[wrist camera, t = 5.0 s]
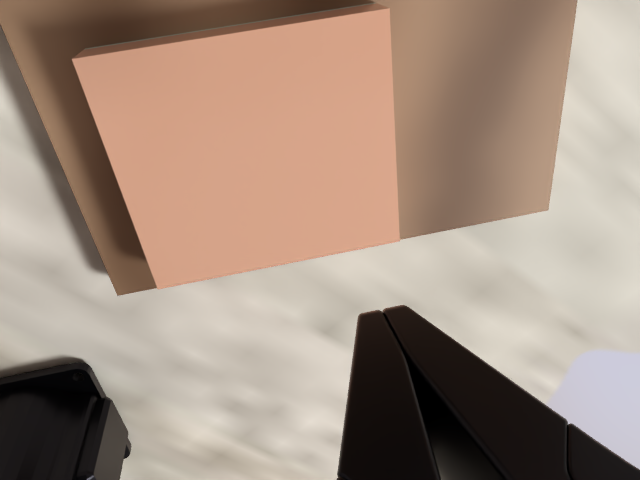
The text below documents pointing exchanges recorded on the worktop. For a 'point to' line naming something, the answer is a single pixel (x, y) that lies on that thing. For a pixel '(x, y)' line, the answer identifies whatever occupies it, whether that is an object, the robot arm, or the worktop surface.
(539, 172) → the board
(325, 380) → the worktop surface
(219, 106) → the tile
